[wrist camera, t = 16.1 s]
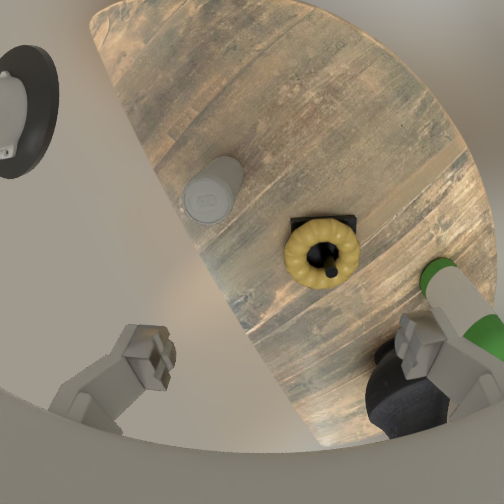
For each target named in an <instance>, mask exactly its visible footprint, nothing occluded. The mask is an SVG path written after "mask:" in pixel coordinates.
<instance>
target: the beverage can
mask: <svg viewBox="0 0 504 504" xmlns="http://www.w3.org/2000/svg"><path fill="white" fill-rule="evenodd" d="M243 178H244V170H243V167H242V165H241V164H240V163H239V162H238V161H237V160H236V159H234V158H232V157H229V156H220V157H217V158H215V159H213V160H212V161H211V162H210V163H209V164H208V165H207V166H206V167H204V168H203V169H202V170H201V171H200V172H199V173H198V174H197V175H196V176H195V177H194V178H192V179H191V181H190V182H189V183H188V184H187V185H186V187H185V189H184V192H183V196H182V205H183V208H184V211H185V212H186V214H187V215H188V216H189V217H190V218H191V219H192V220H193V221H195V222H197V223H199V224H203V225H213V224H217V223H219V222H220V221H222V220H223V219H224V218H225V217H226V216H228V214H229V213H230V211H231V210H232V207H233V205H234V202H235V199H236V197H237V194H238V191H239V189H240V186H241V184H242V181H243Z"/></svg>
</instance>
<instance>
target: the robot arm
mask: <svg viewBox="0 0 504 504" xmlns="http://www.w3.org/2000/svg"><path fill="white" fill-rule="evenodd" d="M26 116H27V94H26V90H25V87H24V85H23V83H22V82H21V81H20V80H19V79H18V78H15V77H12V76H11V75H10V73H9V72H8V71H3V72H1V74H0V159H6V158H11V157H14V156H15V155H16V151H17V144H18V140H19V138H20V136H21V134H22V131H23V129H24V126H25V122H26ZM400 324H401V327H400V328H399V329H398V330H397V332H396V336H395V350H396V353H397V356H398V357H399V358H401V359H402V360H403V362H402V365H401V367H402V370H403V372H404V375H405V378H406V380H410V379H415V378H420V377H424V376H427V378H428V379H429V380H430V381H431V382H432V383H433V384H435V385H436V386H437V387H438V388H439V389H440V390H441V391H442V392H443V393H444V394H445V395H446V396H448V397H449V398H450V399H451V400H452V401H453V402H454V403H455V404H456V405H457V406H458V407H457V408H456V409H455V410H454V412H453V413H452V414H451V416H450V418H449V420H450V422H449V423H446V424H443V425H440V426H437V427H434V428H431V429H428V430H424V431H421V432H417V433H414V434H410V435H406V436H402V437H398V438H394V439H390V440H386V441H381V442H376V443H371V444H365V445H360V446H353V447H347V448H340V449H332V450H322V451H312V452H297V453H232V452H218V451H207V450H198V449H190V448H182V447H176V446H169V445H164V444H158V443H153V442H148V441H143V440H139V439H134V438H130V437H126V436H122V434H123V431H122V429H121V428H120V427H119V426H118V425H117V424H116V423H115V422H114V420H116V419H117V418H118V417H119V416H120V415H121V414H122V412H124V411H125V410H126V409H127V408H128V407H129V406H130V405H131V404H132V403H133V402H134V401H135V400H136V399H137V398H138V397H139V396H140V395H141V394H142V393H143V392H144V391H145V389H148V390H157V391H166V390H167V387H168V384H169V381H170V378H171V377H170V374H169V371H170V370H171V369H172V368H174V366H175V362H176V350H175V346H174V343H173V342H172V341H170V340H169V339H168V338H169V335H170V333H169V331H168V329H167V328H166V327H165V326H153V325H135V324H134V325H133V324H128V325H126V326H125V328H124V330H123V331H122V333H121V335H120V337H119V338H118V340H117V342H116V344H115V346H114V347H113V349H112V351H111V353H110V355H105V356H103V357H102V358H100V359H99V360H98V361H96V362H95V363H93V364H92V365H90V366H89V367H87V368H86V369H84V370H83V371H81V372H80V373H78V374H77V375H75V376H74V377H73V378H71V379H70V380H68V381H66V382H65V383H64V384H62V385H61V387H60V388H59V390H58V392H57V394H56V396H55V397H54V399H53V401H52V403H51V405H50V407H49V409H48V410H45V409H43V408H41V407H38V406H36V405H34V404H32V403H30V402H28V401H26V400H23V399H21V398H19V397H17V396H15V395H13V394H12V393H10V392H8V391H6V390H4V389H3V388H1V387H0V504H504V362H503V361H501V360H500V359H498V358H497V357H495V356H493V355H492V354H490V353H489V352H487V351H485V350H484V349H482V348H481V347H479V346H477V345H476V344H474V343H472V342H471V341H469V340H467V339H466V338H464V337H459V336H458V334H457V332H456V331H455V329H454V327H453V326H452V324H451V323H450V321H449V319H448V318H447V316H446V315H445V313H444V312H443V310H442V309H441V308H439V307H437V308H432V309H427V310H421V311H415V312H408V313H403V314H402V316H401V318H400Z"/></svg>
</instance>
